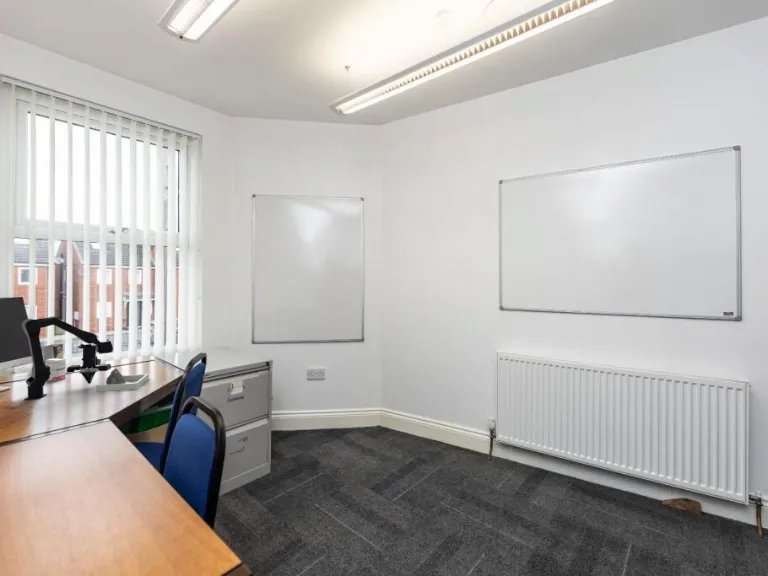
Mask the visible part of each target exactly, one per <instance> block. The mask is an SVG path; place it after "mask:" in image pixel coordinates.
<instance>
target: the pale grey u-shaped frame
mask: <svg viewBox="0 0 768 576" xmlns="http://www.w3.org/2000/svg"><path fill="white" fill-rule="evenodd" d="M122 376H123V377H124V379H125V383H126V381H127V382H128V381H136V382H133V383H132V382H128V383H126V384H109V385H107V384H96V385H95V391H96V392H105V391H106V392H107V391H121V390H136V389H138V388H140V387H141V386H142V385H143V384H145V383H146V382H148V380H149V378H150V376H149V373H143V374H125V375H123V374H122Z"/></svg>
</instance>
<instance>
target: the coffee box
mask: <svg viewBox="0 0 768 576" xmlns="http://www.w3.org/2000/svg"><path fill="white" fill-rule="evenodd" d="M63 345H64V344H63V343H54V344H49V345H46V346H42V347H43V361H44V364H45V360H48V359H64V346H63Z"/></svg>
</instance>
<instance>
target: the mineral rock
mask: <svg viewBox="0 0 768 576" xmlns="http://www.w3.org/2000/svg"><path fill="white" fill-rule="evenodd" d="M122 375H123V374H122V373H120V371H119V369H118V368H114V369H113V370H111V372H110V373H109V375H108V376H107V377H106V381H105V385H109V384H126V381H125V379H124V377H123V376H122Z"/></svg>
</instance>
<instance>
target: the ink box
mask: <svg viewBox="0 0 768 576" xmlns="http://www.w3.org/2000/svg"><path fill="white" fill-rule="evenodd" d="M45 365H48V366H49V367H50V373H51V374H50V378H49V379H48V380H47V381H54V382H57V381H58V382H59V381H63V380H65V379H67V377H66V374H67V367H66V365H67V364H66V358H63V359H48V360H45Z"/></svg>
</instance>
